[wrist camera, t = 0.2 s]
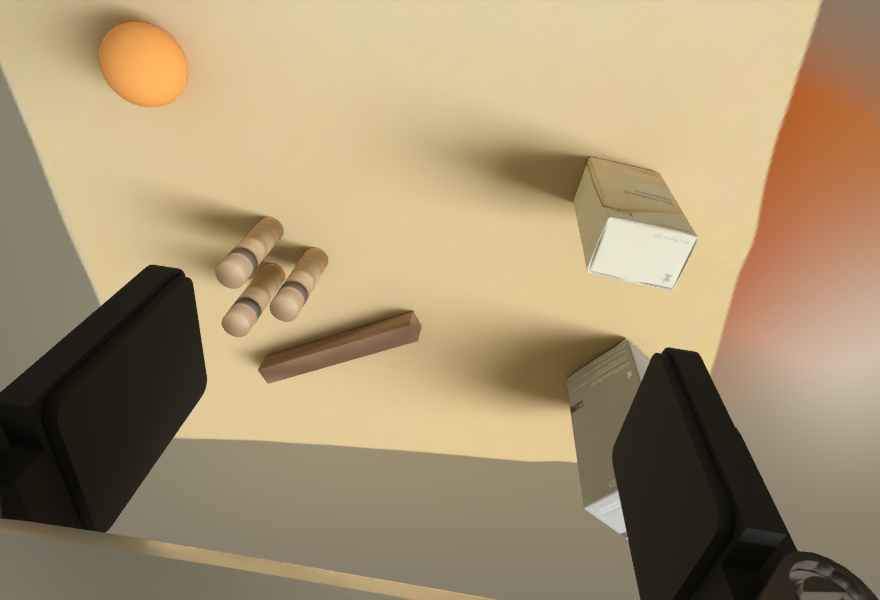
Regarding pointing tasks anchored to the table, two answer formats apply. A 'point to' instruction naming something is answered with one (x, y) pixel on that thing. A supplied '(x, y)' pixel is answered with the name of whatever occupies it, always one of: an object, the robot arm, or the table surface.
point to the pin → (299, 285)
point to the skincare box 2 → (603, 424)
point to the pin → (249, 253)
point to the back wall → (341, 347)
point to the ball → (143, 64)
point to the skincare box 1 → (632, 225)
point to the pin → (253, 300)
